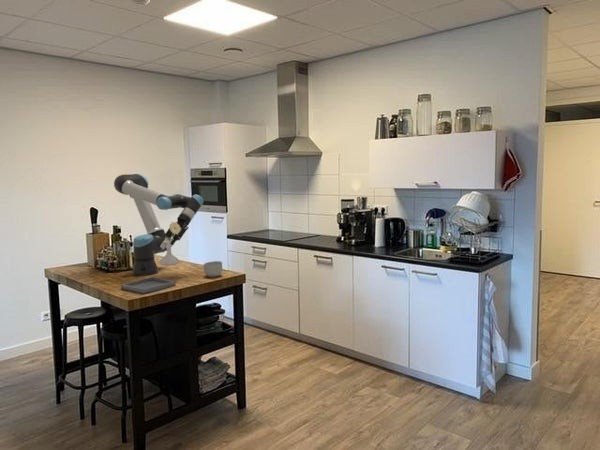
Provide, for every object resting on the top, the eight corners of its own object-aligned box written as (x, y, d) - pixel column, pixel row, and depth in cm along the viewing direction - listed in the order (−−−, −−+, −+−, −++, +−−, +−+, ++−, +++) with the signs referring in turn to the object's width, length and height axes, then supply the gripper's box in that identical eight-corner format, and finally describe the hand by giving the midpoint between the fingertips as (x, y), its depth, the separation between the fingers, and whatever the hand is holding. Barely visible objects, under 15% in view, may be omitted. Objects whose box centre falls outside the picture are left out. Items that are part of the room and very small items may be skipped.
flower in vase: (163, 268, 259) (161, 224, 256) (156, 264, 268) (154, 221, 265) (185, 265, 267) (184, 222, 263) (177, 261, 276) (176, 220, 272)
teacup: (218, 278, 267) (218, 264, 266) (201, 277, 269) (200, 264, 268) (227, 272, 280) (226, 260, 279) (210, 272, 282) (209, 259, 281)
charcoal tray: (121, 289, 247) (120, 284, 247) (152, 281, 263) (152, 277, 263) (144, 294, 235) (143, 289, 235) (175, 285, 251) (175, 281, 251)
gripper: (199, 221, 272) (178, 253, 261) (180, 220, 282) (158, 250, 271) (192, 213, 267) (170, 246, 256) (172, 212, 277) (150, 243, 266)
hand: (164, 248), depth 263 cm, fingers open, 4 cm apart
